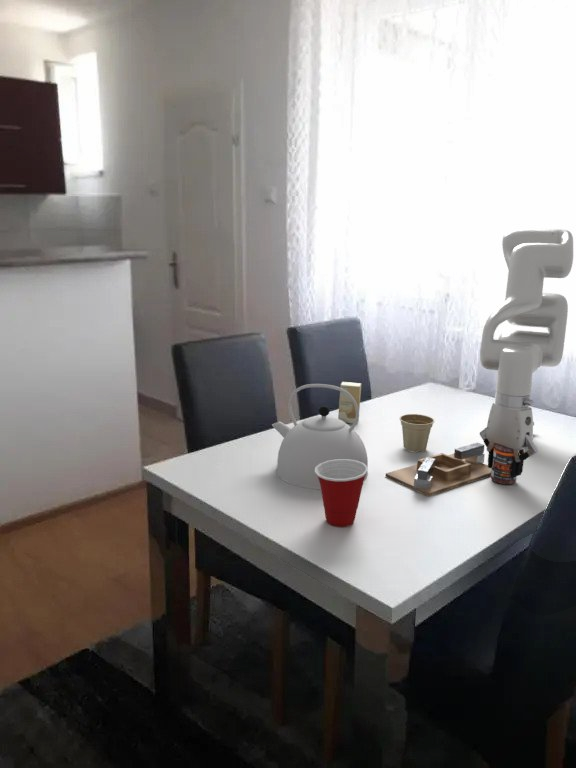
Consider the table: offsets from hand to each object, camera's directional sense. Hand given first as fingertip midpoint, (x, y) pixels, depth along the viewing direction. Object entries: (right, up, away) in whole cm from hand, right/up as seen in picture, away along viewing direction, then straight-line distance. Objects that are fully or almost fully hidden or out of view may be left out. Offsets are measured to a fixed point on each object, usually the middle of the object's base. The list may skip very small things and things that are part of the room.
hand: (504, 470), depth 151 cm
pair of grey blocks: (-12, -1, +2) cm, 13 cm away
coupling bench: (-14, -2, +4) cm, 14 cm away
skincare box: (-33, +9, +45) cm, 57 cm away
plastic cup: (-42, -8, -22) cm, 48 cm away
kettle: (-45, -1, +5) cm, 45 cm away
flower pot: (-17, +3, +22) cm, 28 cm away
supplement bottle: (0, -3, +1) cm, 3 cm away
